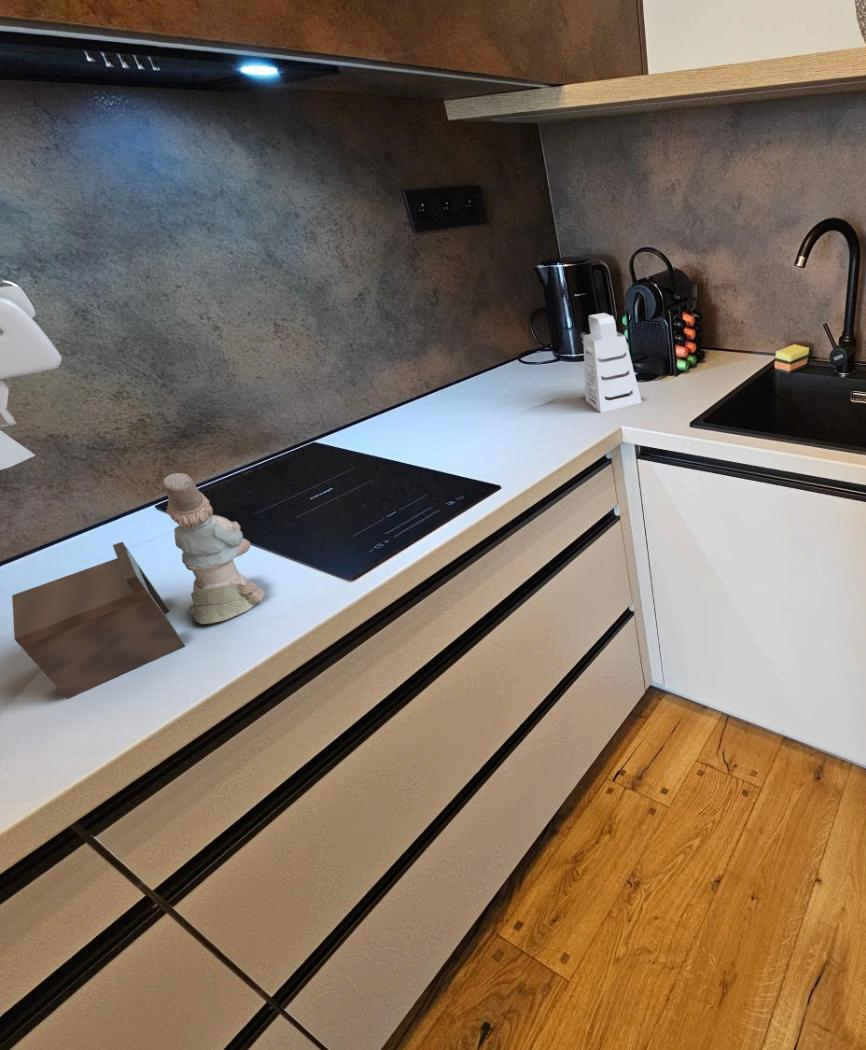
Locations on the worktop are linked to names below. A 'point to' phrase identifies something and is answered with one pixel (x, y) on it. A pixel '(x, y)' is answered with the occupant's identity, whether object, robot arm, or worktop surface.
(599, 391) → the grater
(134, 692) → the worktop surface
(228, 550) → the figurine
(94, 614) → the wooden block with backboard
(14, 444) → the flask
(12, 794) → the worktop surface
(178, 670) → the worktop surface
